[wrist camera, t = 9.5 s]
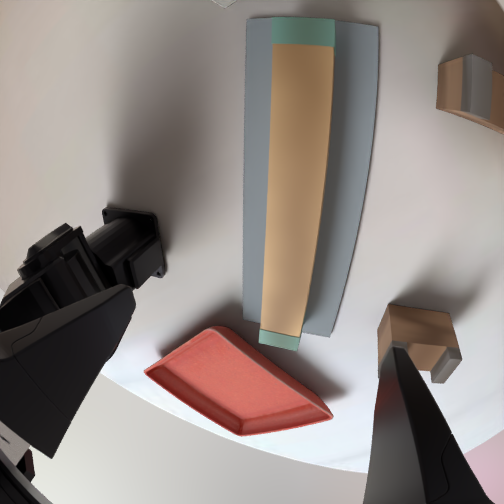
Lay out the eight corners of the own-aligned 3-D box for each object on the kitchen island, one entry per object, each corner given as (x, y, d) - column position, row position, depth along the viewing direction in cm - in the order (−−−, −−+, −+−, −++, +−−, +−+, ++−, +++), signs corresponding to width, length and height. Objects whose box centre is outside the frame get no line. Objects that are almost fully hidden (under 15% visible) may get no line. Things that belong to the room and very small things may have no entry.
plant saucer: (340, 396, 28) (336, 420, 26) (245, 421, 38) (239, 438, 36) (224, 302, 26) (209, 326, 23) (153, 355, 36) (141, 372, 33)
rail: (268, 317, 24) (258, 342, 21) (284, 31, 13) (271, 17, 10) (303, 324, 23) (296, 351, 21) (336, 33, 12) (334, 19, 9)
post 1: (377, 329, 22) (378, 378, 17) (388, 303, 20) (392, 353, 16) (435, 337, 20) (443, 383, 16) (449, 313, 19) (462, 359, 14)
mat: (244, 316, 25) (242, 319, 25) (248, 20, 13) (246, 19, 13) (330, 334, 23) (329, 337, 23) (377, 28, 11) (378, 26, 11)
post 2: (436, 108, 12) (470, 112, 8) (438, 64, 11) (472, 53, 7) (507, 136, 11) (550, 152, 7) (510, 95, 9) (554, 101, 5)
